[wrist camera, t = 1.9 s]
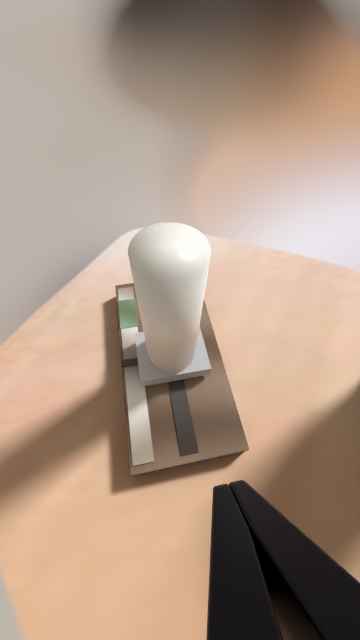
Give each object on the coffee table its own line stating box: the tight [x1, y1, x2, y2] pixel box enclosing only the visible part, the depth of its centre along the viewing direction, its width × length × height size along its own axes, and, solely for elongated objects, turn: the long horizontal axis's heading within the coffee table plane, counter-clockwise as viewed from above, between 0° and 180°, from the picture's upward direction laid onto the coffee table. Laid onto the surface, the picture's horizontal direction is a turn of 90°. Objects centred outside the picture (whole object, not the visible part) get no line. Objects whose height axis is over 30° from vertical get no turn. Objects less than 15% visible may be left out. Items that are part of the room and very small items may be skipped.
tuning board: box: [115, 283, 249, 476], centre depth 22 cm, size 16×8×2 cm, turn 11°
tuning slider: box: [121, 222, 211, 387], centre depth 16 cm, size 4×6×11 cm, turn 101°
